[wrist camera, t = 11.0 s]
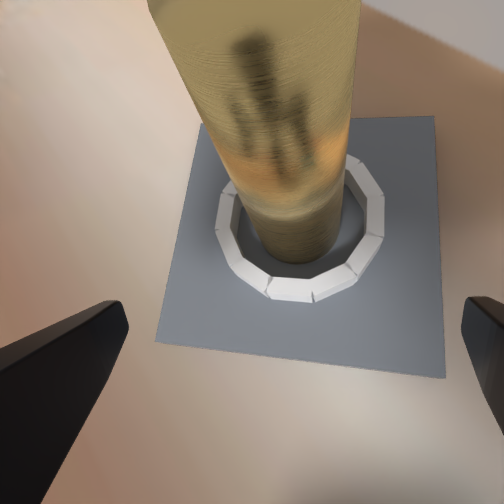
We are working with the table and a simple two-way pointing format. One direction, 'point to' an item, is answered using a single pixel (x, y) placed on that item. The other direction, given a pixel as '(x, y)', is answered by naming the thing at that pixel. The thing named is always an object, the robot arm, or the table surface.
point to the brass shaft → (273, 106)
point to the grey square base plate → (319, 264)
